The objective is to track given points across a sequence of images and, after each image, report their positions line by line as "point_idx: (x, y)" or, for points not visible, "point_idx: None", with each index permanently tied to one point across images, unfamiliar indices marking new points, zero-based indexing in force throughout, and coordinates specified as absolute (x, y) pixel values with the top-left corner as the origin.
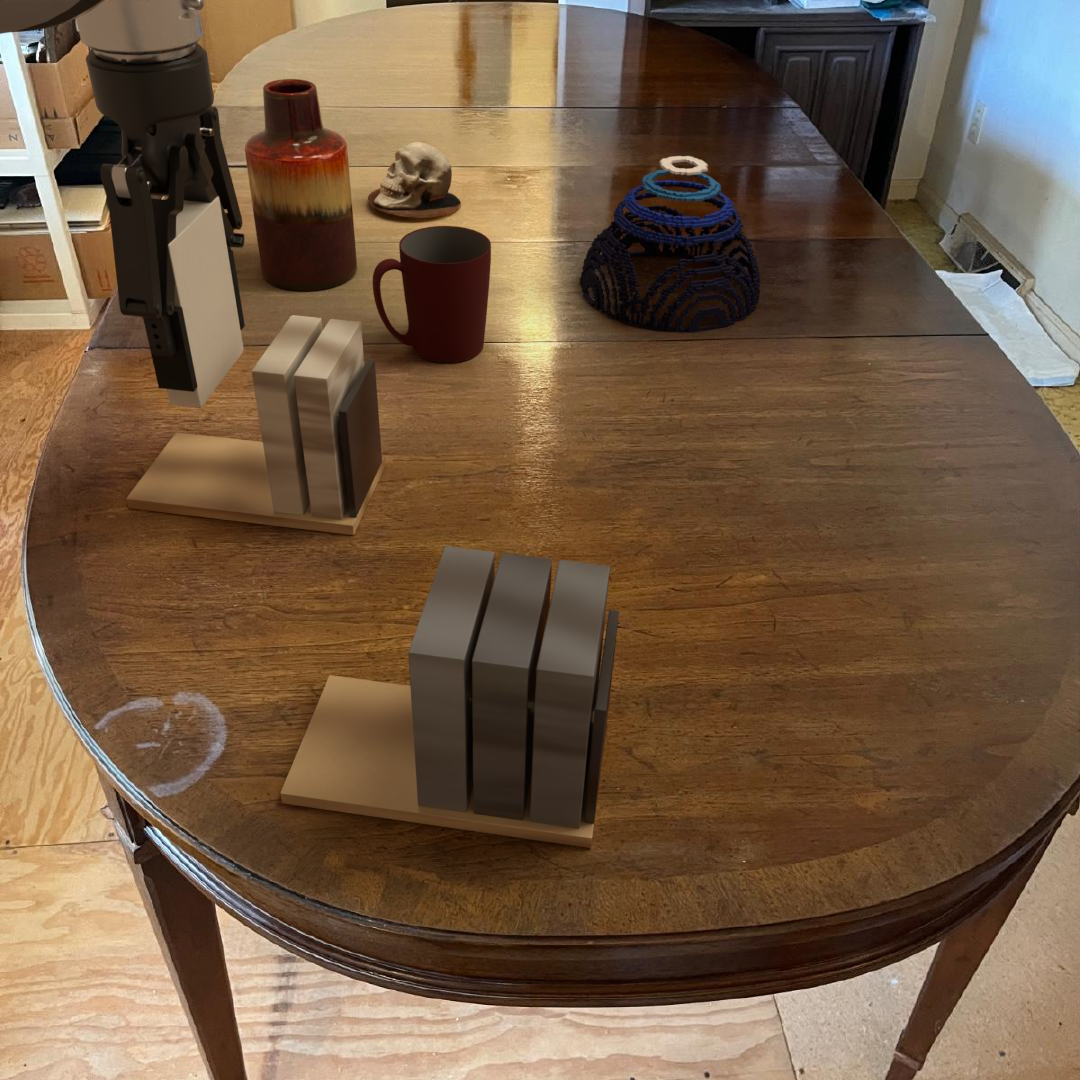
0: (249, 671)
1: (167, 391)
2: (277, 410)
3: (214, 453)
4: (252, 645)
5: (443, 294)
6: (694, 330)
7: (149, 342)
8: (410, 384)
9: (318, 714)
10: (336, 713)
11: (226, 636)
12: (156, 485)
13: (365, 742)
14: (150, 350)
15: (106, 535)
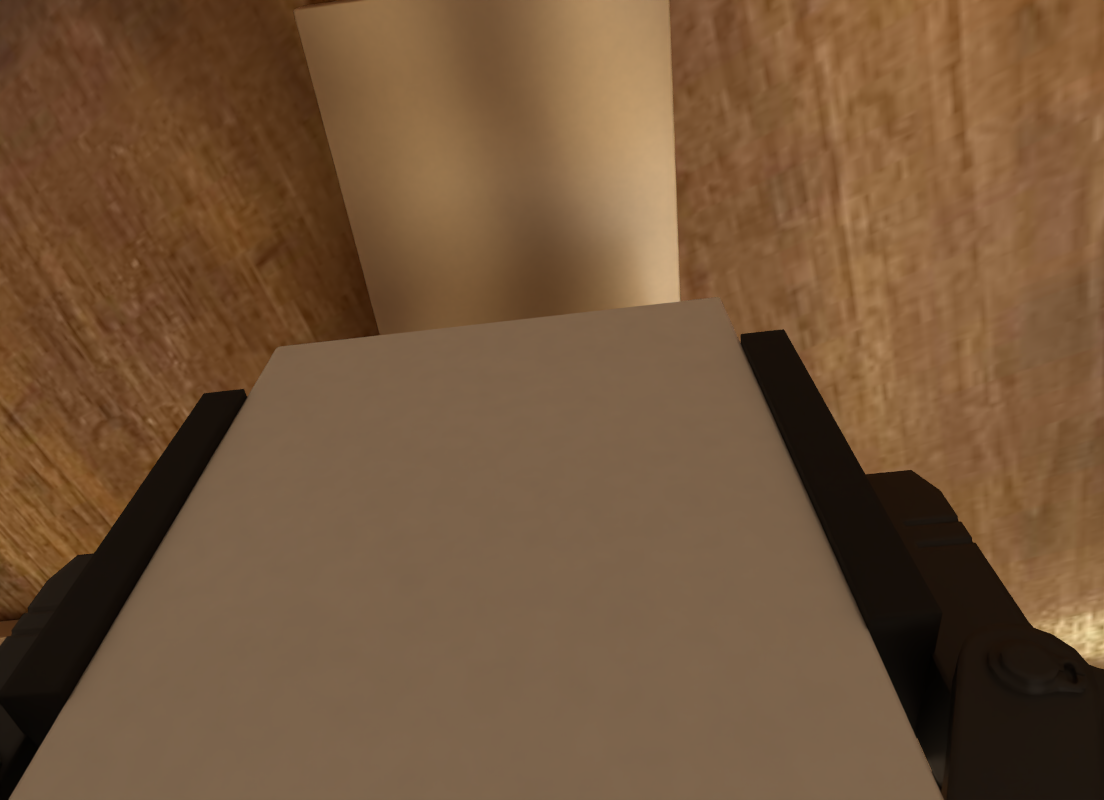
0: (32, 507)
1: (260, 377)
2: None
3: (587, 147)
4: (84, 488)
5: None
6: None
7: (27, 614)
8: (1045, 437)
9: (1, 643)
10: None
11: (73, 442)
12: (386, 65)
13: None
14: (128, 504)
15: (175, 16)
